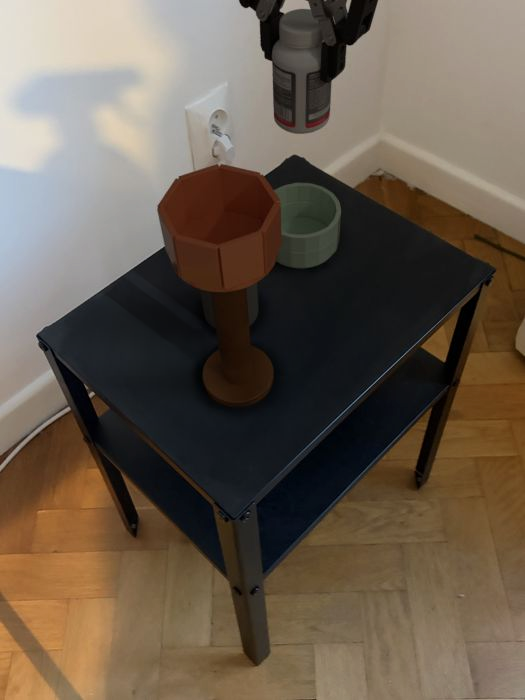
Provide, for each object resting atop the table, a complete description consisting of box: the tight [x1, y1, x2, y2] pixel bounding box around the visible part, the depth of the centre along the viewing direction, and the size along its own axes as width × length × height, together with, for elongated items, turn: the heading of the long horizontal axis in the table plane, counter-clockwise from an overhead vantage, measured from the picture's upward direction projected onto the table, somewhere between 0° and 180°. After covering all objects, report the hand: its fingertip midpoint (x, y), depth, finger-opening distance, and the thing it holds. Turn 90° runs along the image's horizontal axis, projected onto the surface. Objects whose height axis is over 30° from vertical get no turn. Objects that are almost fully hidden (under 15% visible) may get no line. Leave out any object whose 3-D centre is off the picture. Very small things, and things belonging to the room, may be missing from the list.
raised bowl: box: [156, 163, 282, 292], centre depth 56 cm, size 9×9×5 cm
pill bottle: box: [271, 8, 333, 135], centre depth 66 cm, size 5×5×10 cm
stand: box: [202, 288, 274, 408], centre depth 65 cm, size 7×7×18 cm
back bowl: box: [273, 182, 342, 269], centre depth 81 cm, size 9×9×5 cm
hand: (302, 66), depth 65 cm, fingers closed on pill bottle, 5 cm apart
